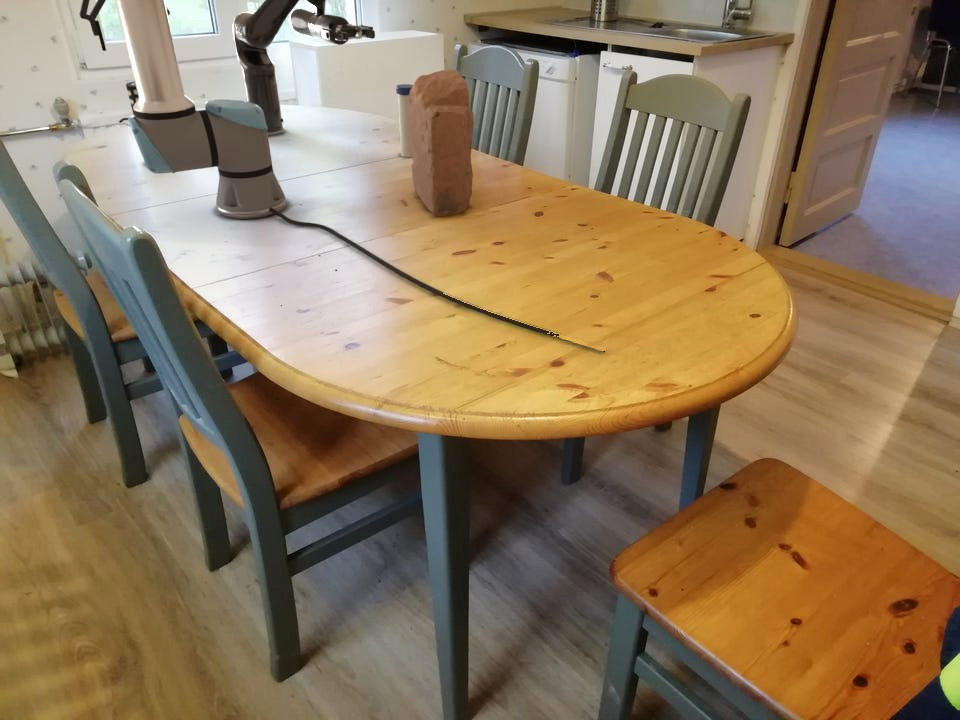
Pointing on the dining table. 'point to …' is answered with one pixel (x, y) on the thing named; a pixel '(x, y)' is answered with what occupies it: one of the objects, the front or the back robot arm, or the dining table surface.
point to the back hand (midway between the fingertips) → (360, 35)
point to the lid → (403, 89)
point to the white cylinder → (404, 124)
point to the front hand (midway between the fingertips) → (133, 48)
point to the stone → (441, 141)
